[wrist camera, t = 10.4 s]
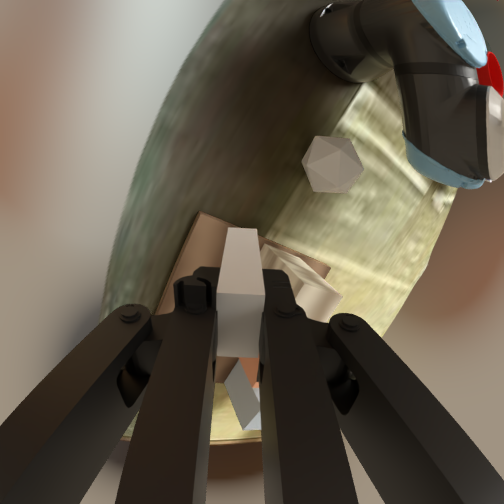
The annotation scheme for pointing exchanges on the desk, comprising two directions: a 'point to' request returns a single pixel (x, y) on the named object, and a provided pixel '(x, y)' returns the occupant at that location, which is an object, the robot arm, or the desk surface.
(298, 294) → the cream block
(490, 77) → the ceramic cup
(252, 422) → the grey-blue block
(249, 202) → the desk surface
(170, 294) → the walnut board
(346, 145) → the die
